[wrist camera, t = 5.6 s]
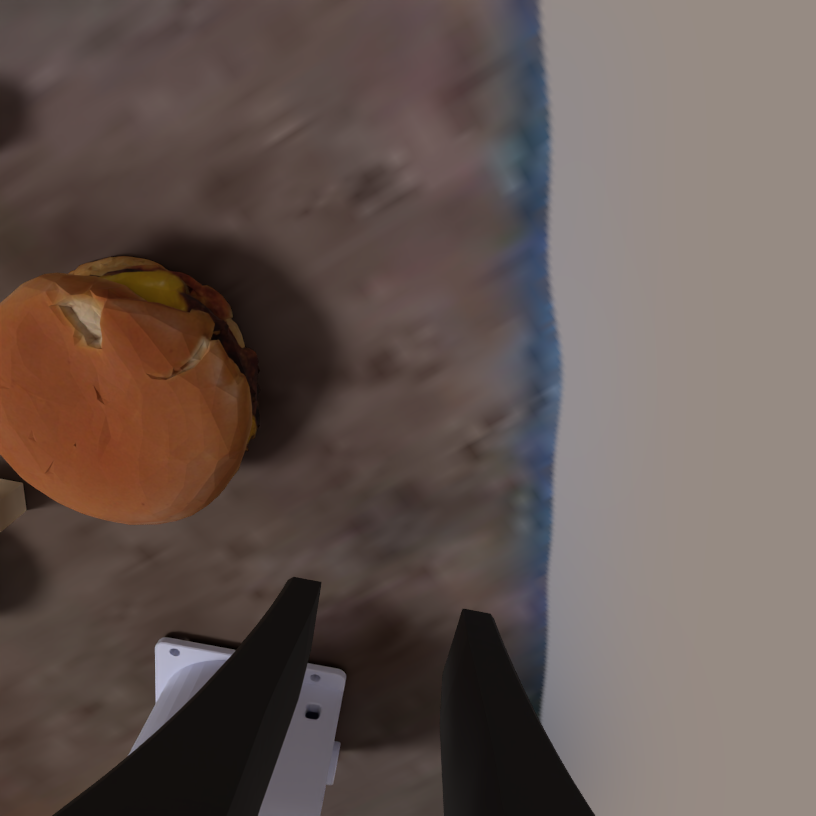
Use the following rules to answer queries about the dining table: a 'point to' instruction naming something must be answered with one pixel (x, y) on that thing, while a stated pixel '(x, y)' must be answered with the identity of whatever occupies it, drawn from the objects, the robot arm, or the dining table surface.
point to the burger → (125, 390)
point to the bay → (11, 502)
